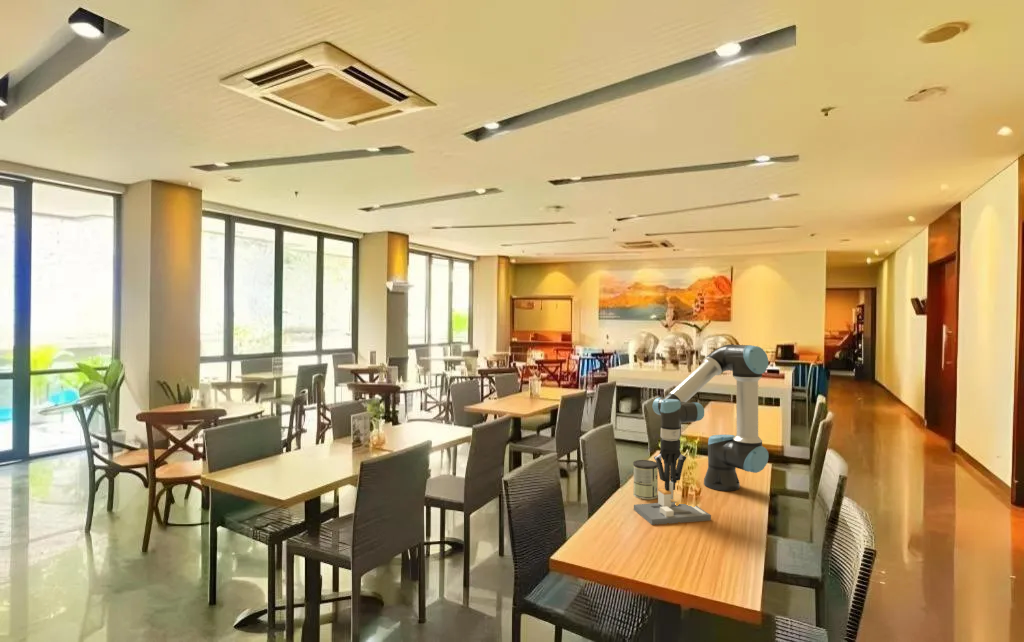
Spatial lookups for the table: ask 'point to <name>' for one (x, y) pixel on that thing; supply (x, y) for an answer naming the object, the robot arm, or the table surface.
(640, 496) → the coffee can
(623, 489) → the table surface
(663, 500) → the handle
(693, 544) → the table surface
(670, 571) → the table surface
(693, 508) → the panel
